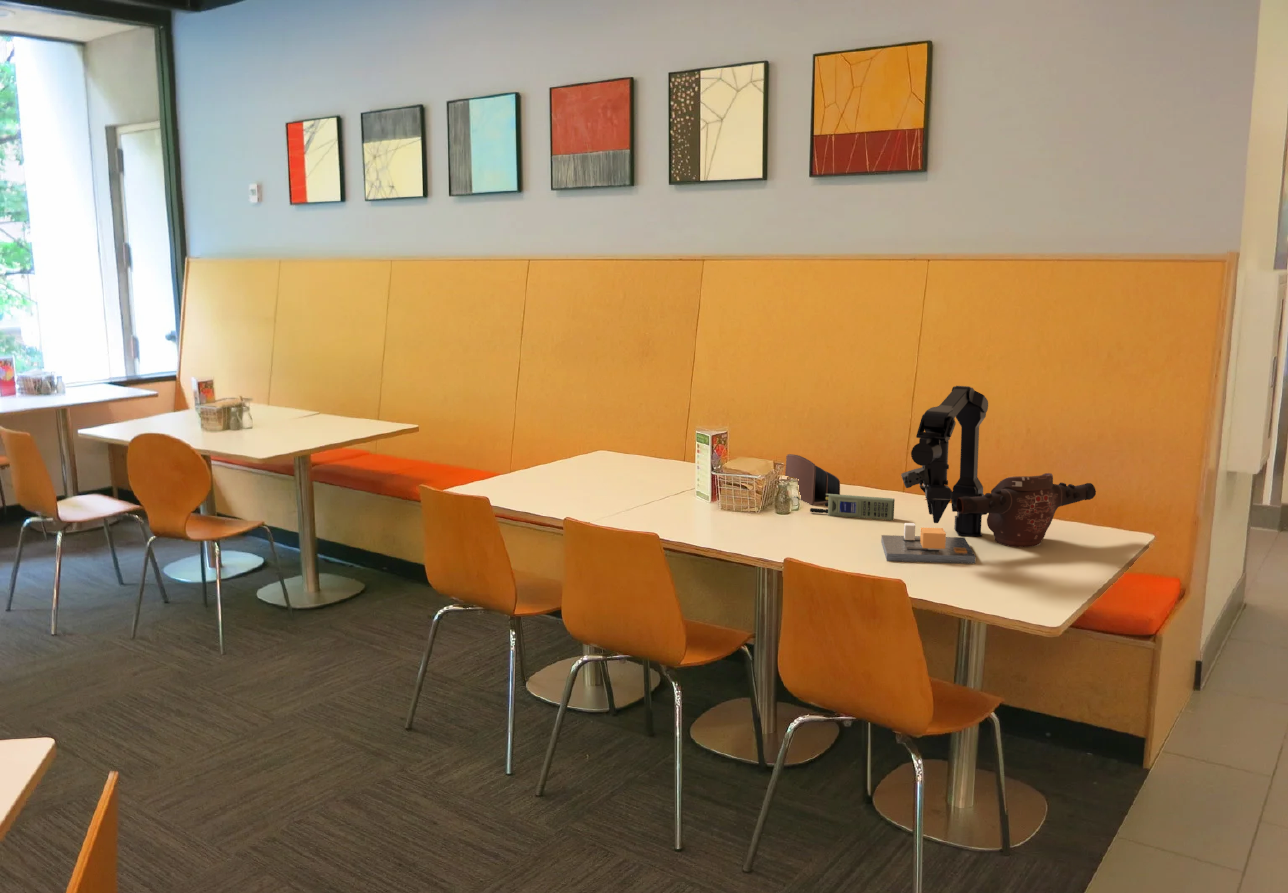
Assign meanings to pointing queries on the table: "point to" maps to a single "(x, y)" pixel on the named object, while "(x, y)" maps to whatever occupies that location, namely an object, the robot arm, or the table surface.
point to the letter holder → (811, 480)
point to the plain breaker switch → (909, 531)
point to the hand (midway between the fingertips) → (933, 518)
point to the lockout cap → (933, 538)
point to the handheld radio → (858, 507)
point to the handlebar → (1024, 507)
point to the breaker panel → (914, 552)
